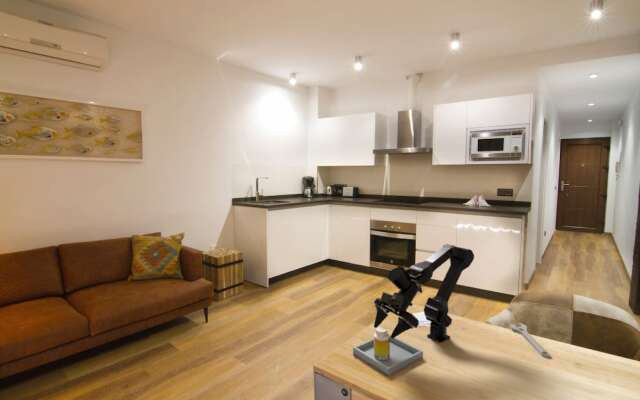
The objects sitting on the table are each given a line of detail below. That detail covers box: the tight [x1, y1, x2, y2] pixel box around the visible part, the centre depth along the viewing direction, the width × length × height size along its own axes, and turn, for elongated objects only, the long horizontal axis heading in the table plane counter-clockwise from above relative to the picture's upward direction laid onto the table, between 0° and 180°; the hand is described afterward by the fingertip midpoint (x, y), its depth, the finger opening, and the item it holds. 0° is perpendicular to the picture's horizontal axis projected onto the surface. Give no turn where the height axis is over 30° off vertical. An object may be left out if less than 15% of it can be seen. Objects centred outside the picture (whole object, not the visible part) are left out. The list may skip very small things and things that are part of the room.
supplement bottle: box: [373, 326, 390, 360], centre depth 123 cm, size 6×6×10 cm
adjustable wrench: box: [510, 322, 550, 359], centre depth 133 cm, size 25×6×2 cm, turn 169°
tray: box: [352, 334, 424, 377], centre depth 125 cm, size 18×18×2 cm
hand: (382, 332), depth 123 cm, fingers open, 9 cm apart
